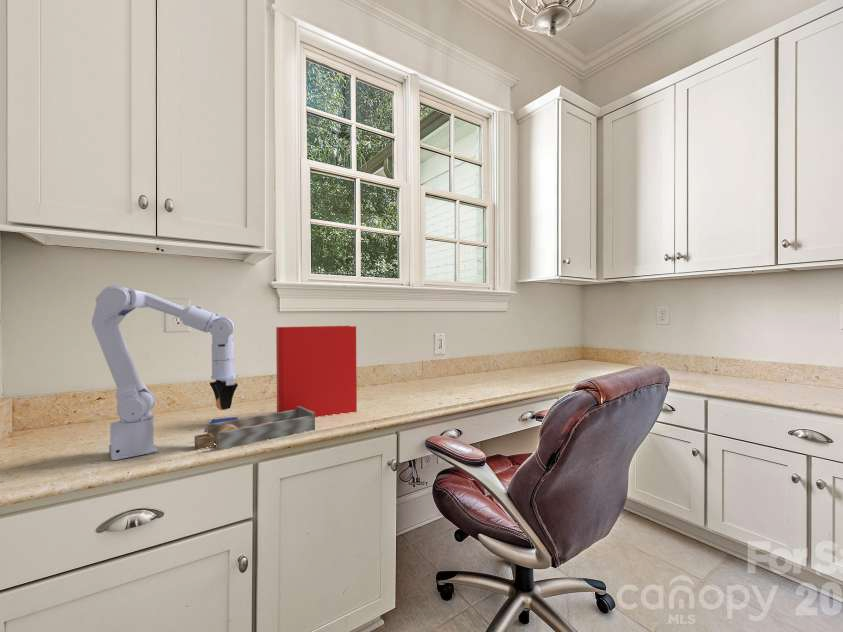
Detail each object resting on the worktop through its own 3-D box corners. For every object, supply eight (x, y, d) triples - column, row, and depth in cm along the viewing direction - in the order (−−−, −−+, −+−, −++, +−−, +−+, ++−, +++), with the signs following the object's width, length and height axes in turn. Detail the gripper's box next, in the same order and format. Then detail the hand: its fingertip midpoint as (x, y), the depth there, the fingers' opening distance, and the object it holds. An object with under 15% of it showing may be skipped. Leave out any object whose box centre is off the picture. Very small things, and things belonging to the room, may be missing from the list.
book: (350, 407, 153) (349, 325, 153) (356, 411, 146) (356, 326, 146) (276, 416, 141) (275, 327, 140) (279, 421, 133) (278, 327, 133)
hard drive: (211, 419, 133) (206, 429, 122) (237, 416, 136) (235, 426, 125) (211, 423, 133) (206, 434, 122) (237, 421, 136) (235, 431, 125)
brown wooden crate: (197, 450, 106) (197, 439, 106) (194, 446, 109) (194, 435, 109) (214, 446, 108) (214, 436, 108) (210, 443, 111) (210, 432, 111)
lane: (218, 465, 105) (217, 429, 105) (207, 453, 114) (207, 421, 114) (315, 442, 124) (314, 412, 124) (299, 434, 132) (299, 405, 132)
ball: (217, 412, 109) (217, 397, 109) (214, 409, 112) (214, 395, 112) (233, 409, 111) (233, 395, 111) (229, 407, 114) (229, 393, 114)
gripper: (245, 360, 109) (246, 409, 109) (230, 356, 120) (231, 401, 120) (217, 362, 104) (218, 414, 104) (205, 358, 115) (205, 404, 115)
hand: (223, 407), depth 112 cm, fingers closed on ball, 4 cm apart
